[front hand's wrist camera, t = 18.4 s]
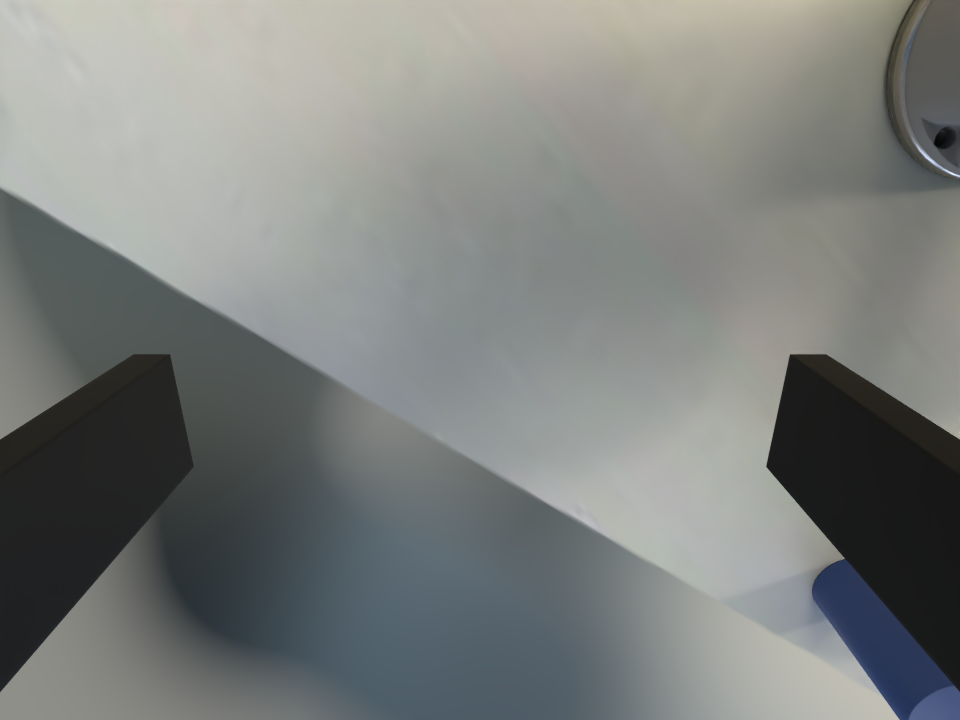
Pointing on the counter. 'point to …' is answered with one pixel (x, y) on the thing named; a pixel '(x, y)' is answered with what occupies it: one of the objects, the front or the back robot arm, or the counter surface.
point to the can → (885, 647)
